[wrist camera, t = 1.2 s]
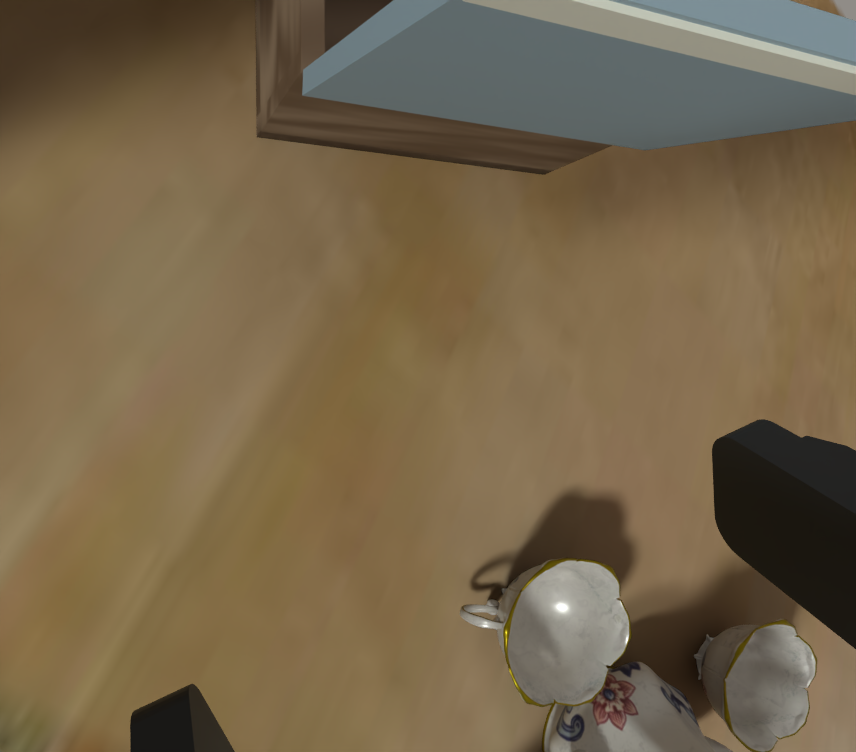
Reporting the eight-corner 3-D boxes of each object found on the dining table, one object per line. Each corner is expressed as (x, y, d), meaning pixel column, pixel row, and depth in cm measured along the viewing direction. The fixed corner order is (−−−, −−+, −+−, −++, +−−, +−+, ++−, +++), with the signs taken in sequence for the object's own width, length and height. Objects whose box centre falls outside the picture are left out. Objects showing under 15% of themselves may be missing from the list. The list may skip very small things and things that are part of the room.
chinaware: (753, 590, 55) (1000, 643, 41) (728, 821, 52) (987, 969, 37) (445, 529, 44) (632, 571, 29) (389, 819, 41) (568, 1033, 26)
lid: (647, 130, 36) (644, 154, 36) (303, 69, 29) (302, 100, 29) (1003, 66, 22) (995, 107, 22) (506, -87, 14) (501, -24, 15)
